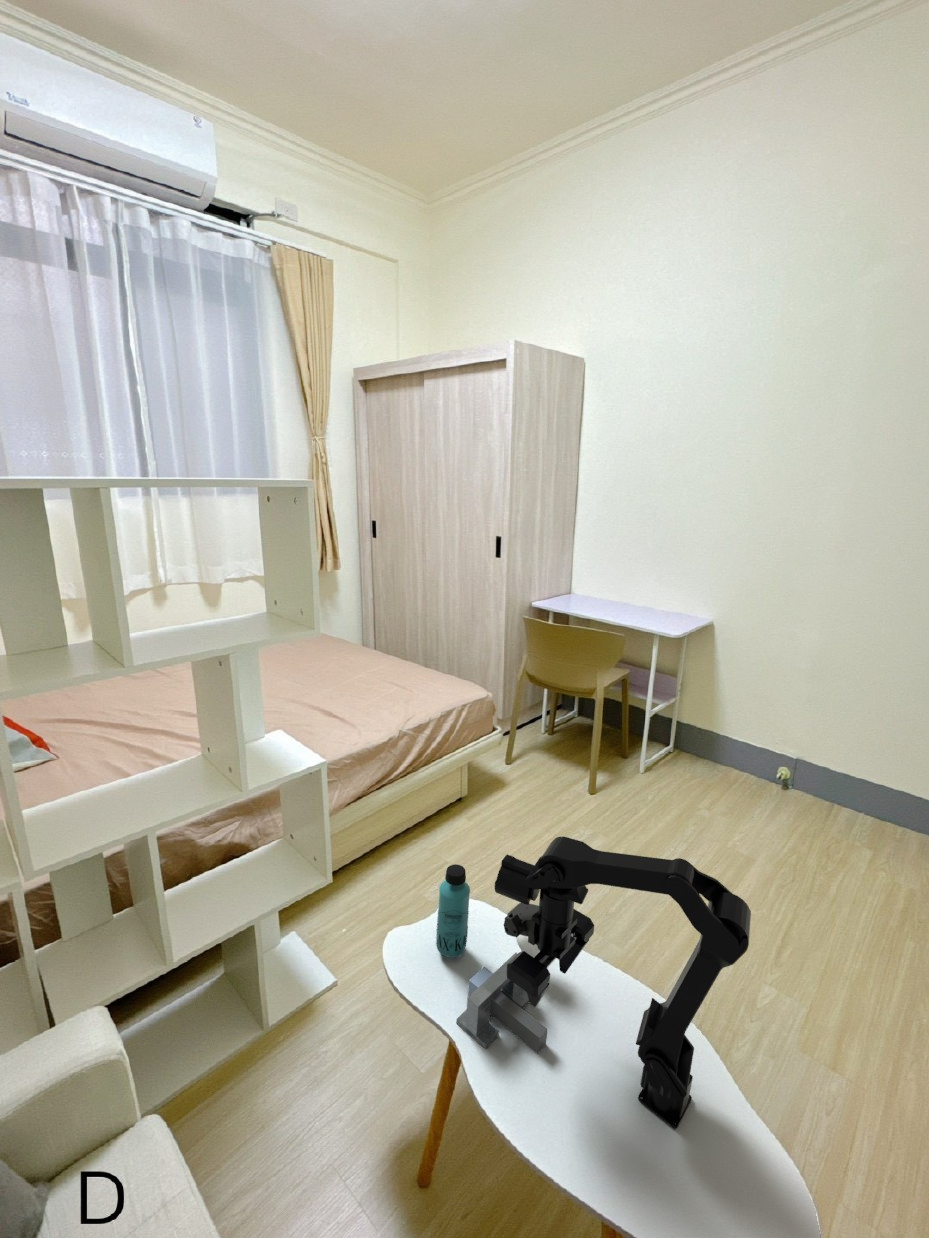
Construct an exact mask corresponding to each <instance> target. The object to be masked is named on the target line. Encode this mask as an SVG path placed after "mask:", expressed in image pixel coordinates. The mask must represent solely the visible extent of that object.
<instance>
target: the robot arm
mask: <svg viewBox="0 0 929 1238" xmlns="http://www.w3.org/2000/svg"><path fill="white" fill-rule="evenodd" d="M588 885H600V886H601V885H604V886H607V887H608V886H610V887H614V888H615V887H617V888H622V889H629V890H634V891H642V892H648V893H652V894H653V893H654V894H661V895H667V896H669V897H670V898H671V899H673V901H675V902H676V903H677V904H678V905H679V907H680V908H681V910H682V912H683V913H684V915H685V916H686V918H687V919H688V921H689V922H690V924H691V925H692V927H693V928H694V929H695V930H696V931H697V932H698V933H699V934H700V936H699V940H698V942H697V944H696V945H695V947H694V949H693V951H692V953H691V954H690V956H689V958H688V960H687V962H686V964H685V966H684V968H683V970H682V971H681V972H680V974H679V976H678V979H677V980H676V982H675V984H674V986H673V988H672V990H671V992H670V993H669V995H668V997H667V998H666V1000H665V1001H663V1002H659V1001H657V1000H656V998H654V997H652V998H651V1001H650V1005H649V1007H648V1008H647V1009H645V1010H644V1011H643V1015H642V1019H641V1022H640V1026H639V1030H638V1034H637V1037H636V1040H635V1045H637V1046H639V1047H638V1050H637V1056H638V1058H639V1059H640V1061H641V1062H642V1064H643V1067H642V1073H641V1080H640V1087H641V1088H642V1089H641V1091H640V1092H639V1094H638V1097H637V1099H638V1102H640V1103H641V1104H643V1106H645V1107H646V1108H647V1109H649V1110H650V1111H651V1112H652V1113H654V1114H655V1115H656V1116H657V1117H659V1118H660V1119H661V1120H662V1121H664V1122H665V1123H666V1124H668V1125H669V1126H670V1127H671V1128H672V1129H674V1130H677V1129H678V1128H679V1125H680V1124H681V1122H682V1120H683V1118H684V1116H685V1114H686V1112H687V1110H688V1108H689V1106H690V1105H691V1102H692V1099H693V1097H692V1095H691V1094H690V1093H691V1090H692V1089H691V1088H692V1083H693V1079H694V1078H693V1075H692V1074H691V1071H692V1065H693V1059H694V1052H695V1047H694V1046H693V1044H692V1043H691V1041H690V1040H689V1038H688V1037H687V1036H686V1032H687V1029H688V1028H689V1027H690V1025H691V1023H692V1021H693V1019H694V1018H695V1016H696V1014H697V1012H698V1011H699V1009H700V1008H701V1006H702V1004H703V1001H704V1000H705V999H706V997H707V995H708V993H709V991H710V990H711V988H712V986H713V985H714V983H715V981H716V980H717V977H718V976H719V975H720V973H721V971H722V970H723V969H724V968H728V967H730V966H733V965H734V964H736V962H738V960H739V959H740V958H741V957H743V955H744V954H745V953H746V952H748V949H749V944H750V934H751V933H750V932H751V917H752V911H751V909H750V908H749V905H748V903H746V901H745V900H744V899H743V898H741V897H740V896H738V895H736V894H735V893H733V892H731V891H730V890H729V889H728V888H727V887H726V886H725V885H723V884H722V882H720V881H719V880H718V879H716V878H715V877H713V876H711V875H708V874H706V873H704V872H702V871H700V870H698V869H697V868H696V867H695V866H694V865H693V864H692V863H691V862H690V861H688V860H686V859H684V858H681V857H680V858H674V859H667V858H659V857H653V856H652V857H651V856H642V855H637V854H636V855H634V854H629V853H628V854H627V853H617V852H609V851H603V850H599V849H595V848H593V847H591V846H590V845H588V844H587V843H585V842H584V841H582V840H578V839H574V838H571V837H567V836H557V837H555V838H554V839H553V840H552V841H551V842H550V843H549V844H548V846H547V848H546V850H545V851H544V852H543V854H542V855H541V856H540V857H538V859H537V861H536V863H535V864H532V863H529V862H527V861H525V860H521V859H518V858H516V857H514V856H512V855H510V854H508V853H506V854H505V856H504V857H503V858H502V860H501V864H500V868H499V871H498V873H497V876H496V879H495V882H494V891H495V893H496V894H498V895H500V896H503V897H506V898H508V899H510V900H513V901H516V902H519V903H517V905H516V906H514V907H513V908H512V909H511V910H510V911H508V913H507V915H506V916H505V917H504V921H503V928H504V933H505V934H506V935H508V936H510V937H514V938H516V937H518V936H519V935H523V936H528V942H529V943H530V944H532V945H535V944H536V945H537V947H538V949H539V950H540V952H539V953H538V954H537V955H536V956H535V957H532V956H531V955H529V954H528V953H526V952H525V951H522V952H521V951H519V952H517V955H516V956H515V957H514V958H513V959H512V960H511V961H510V962H509V963H508V964H507V971H506V975H507V978H508V979H510V980H511V981H512V982H514V983H515V984H516V985H518V986H519V987H520V988H522V989H523V990H525V991H526V992H527V995H528V998H529V1001H530V1002H529V1004H530V1005H532V1006H533V1007H534V1008H537V1006H538V1005H539V1003H540V1002H541V1000H542V999H543V996H544V995H545V993H546V992H547V990H548V989H549V987H550V986H551V984H550V983H549V982H550V978H551V973H550V970H549V969H548V968H549V966H550V965H552V964H553V962H555V960H558V961H559V963H558V965H559V966H558V967H559V972H561V973H563V974H565V975H566V974H567V972H568V970H569V969H570V968H571V966H572V965H573V963H575V960H576V959H577V958H578V956H579V955H580V953H581V952H582V951H583V949H584V948H585V947H586V945H587V944H588V942H589V941H590V938H592V936H593V935H594V932H595V924H594V922H593V921H592V919H591V918H590V917H589V916H587V915H586V914H583V913H582V912H580V911H578V910H577V909H576V908H574V907H575V903H577V904H579V905H582V904H583V903H584V901H585V899H586V897H587V895H588V892H589V888H588V887H587V886H588ZM538 896H539V898H538ZM702 897H703V898H702ZM537 898H538V899H539V900H538V905H537V904H532V903H531V901H533V902H535V901H536V900H537ZM704 899H705V900H706V901H708V904H707V903H706V902H705V900H704Z"/></svg>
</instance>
